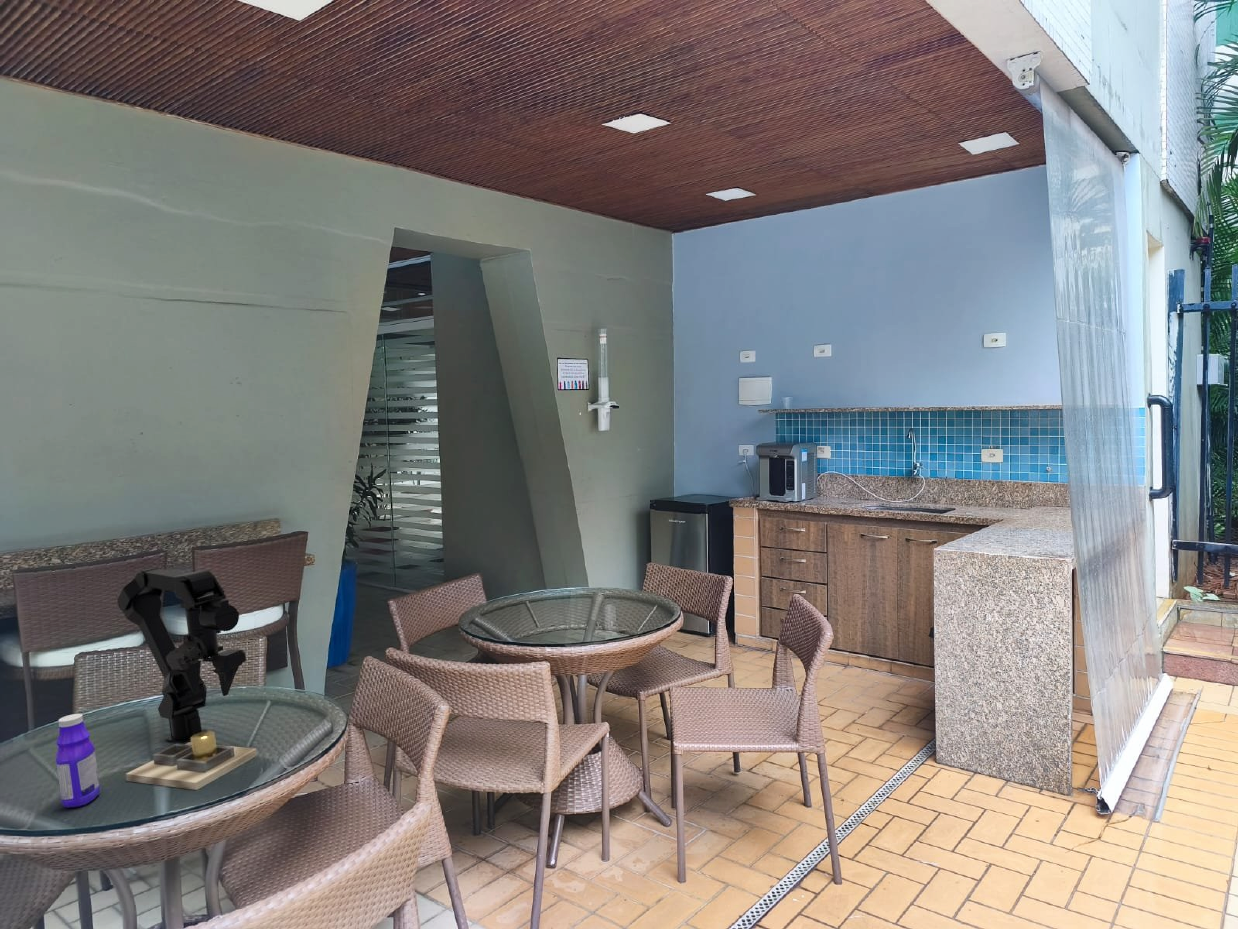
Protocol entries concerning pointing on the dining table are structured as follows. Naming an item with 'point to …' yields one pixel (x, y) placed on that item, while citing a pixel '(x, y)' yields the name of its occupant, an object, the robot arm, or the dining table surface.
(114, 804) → the dining table surface
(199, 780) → the board
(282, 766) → the dining table surface
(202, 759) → the cylinder
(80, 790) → the bottle
